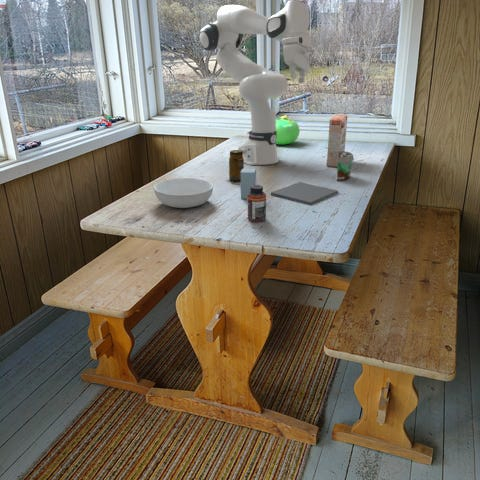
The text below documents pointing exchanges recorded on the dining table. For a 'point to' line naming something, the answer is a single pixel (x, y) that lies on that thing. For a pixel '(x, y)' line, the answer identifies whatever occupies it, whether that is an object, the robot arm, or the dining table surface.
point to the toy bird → (286, 130)
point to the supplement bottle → (256, 204)
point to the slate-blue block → (247, 181)
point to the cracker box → (336, 139)
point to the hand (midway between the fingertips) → (297, 80)
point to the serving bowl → (183, 192)
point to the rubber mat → (304, 193)
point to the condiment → (235, 166)
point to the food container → (344, 165)
